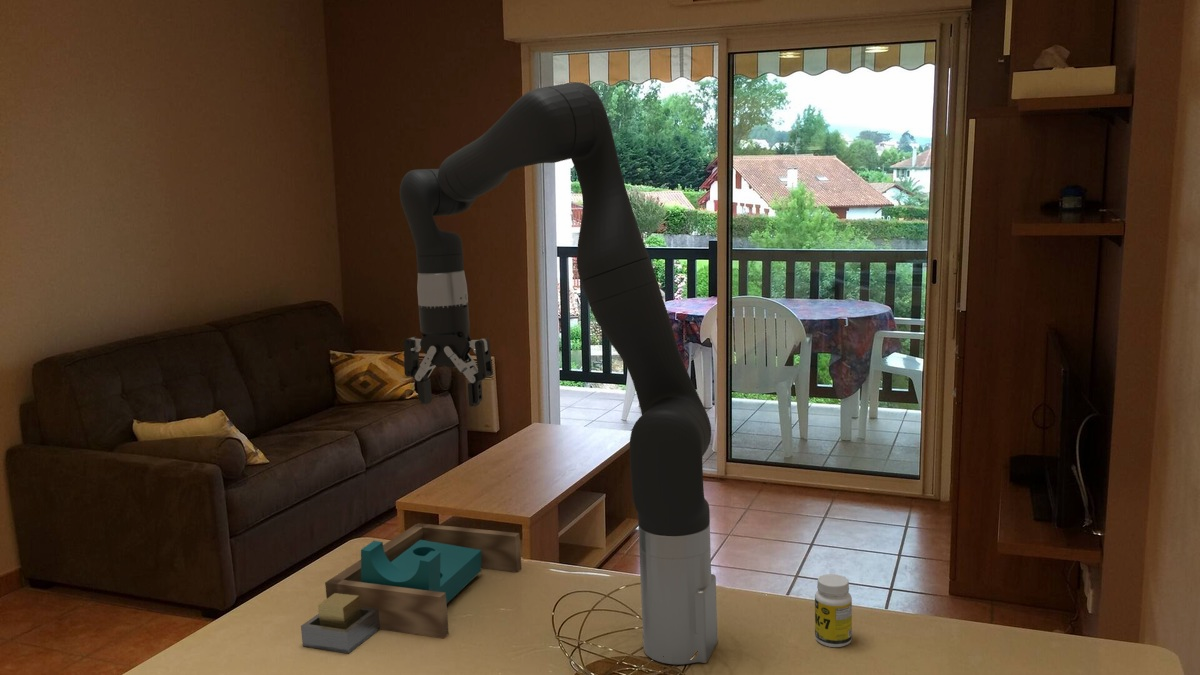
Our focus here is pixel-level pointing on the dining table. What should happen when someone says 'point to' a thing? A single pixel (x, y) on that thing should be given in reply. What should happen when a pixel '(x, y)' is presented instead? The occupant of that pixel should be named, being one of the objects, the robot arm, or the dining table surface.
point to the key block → (339, 611)
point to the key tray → (340, 632)
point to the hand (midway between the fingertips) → (450, 404)
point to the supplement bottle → (833, 611)
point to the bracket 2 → (422, 606)
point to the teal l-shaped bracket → (422, 567)
